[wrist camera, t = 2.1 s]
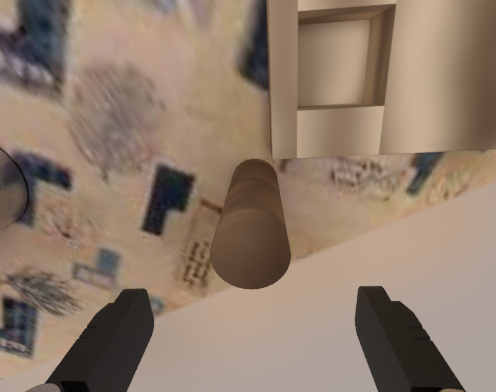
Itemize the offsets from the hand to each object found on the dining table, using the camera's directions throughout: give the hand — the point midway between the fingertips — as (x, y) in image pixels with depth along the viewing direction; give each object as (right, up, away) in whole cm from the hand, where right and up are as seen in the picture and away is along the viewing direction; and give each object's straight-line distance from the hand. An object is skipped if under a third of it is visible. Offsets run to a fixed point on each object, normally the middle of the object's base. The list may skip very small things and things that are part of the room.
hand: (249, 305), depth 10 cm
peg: (0, +6, +14) cm, 15 cm away
